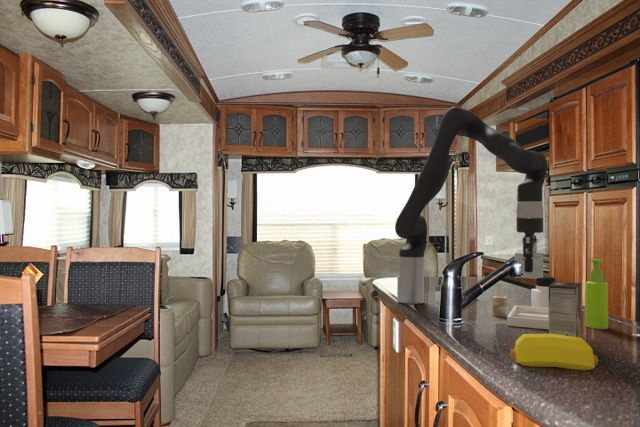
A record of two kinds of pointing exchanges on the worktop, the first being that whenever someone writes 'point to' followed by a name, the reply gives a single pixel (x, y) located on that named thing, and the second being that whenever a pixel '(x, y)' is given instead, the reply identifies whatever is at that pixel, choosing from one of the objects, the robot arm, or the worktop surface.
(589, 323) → the soap dispenser
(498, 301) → the beech block
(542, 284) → the medicine bottle
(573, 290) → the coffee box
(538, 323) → the tray
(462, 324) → the worktop surface
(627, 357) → the worktop surface
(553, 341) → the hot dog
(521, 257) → the product box
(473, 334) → the worktop surface
